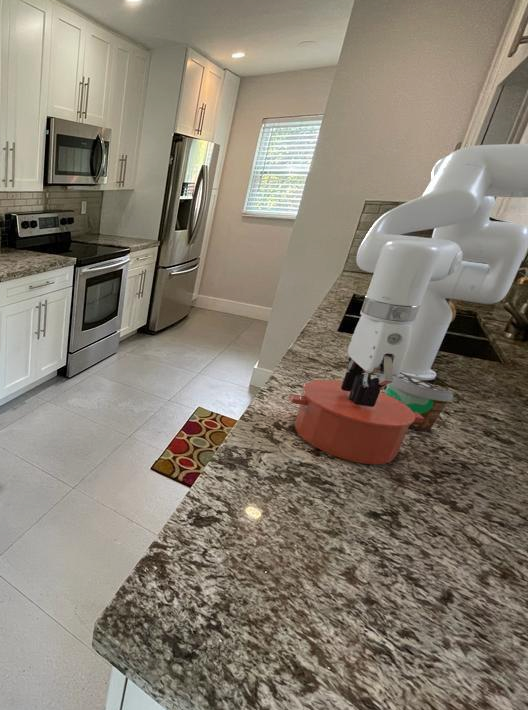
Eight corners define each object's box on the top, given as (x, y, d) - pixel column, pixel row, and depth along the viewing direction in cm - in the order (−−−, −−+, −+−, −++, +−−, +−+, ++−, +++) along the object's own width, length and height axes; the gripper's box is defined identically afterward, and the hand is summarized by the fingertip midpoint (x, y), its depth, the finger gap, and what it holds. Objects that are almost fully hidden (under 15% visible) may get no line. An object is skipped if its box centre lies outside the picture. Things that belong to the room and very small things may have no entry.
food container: (359, 405, 97) (373, 367, 94) (383, 404, 98) (398, 366, 94) (410, 435, 86) (428, 393, 82) (436, 434, 86) (456, 392, 83)
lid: (290, 379, 92) (297, 354, 90) (384, 392, 87) (394, 366, 85) (318, 419, 76) (328, 390, 74) (435, 438, 71) (449, 408, 69)
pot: (271, 408, 95) (280, 376, 92) (385, 426, 89) (399, 392, 86) (293, 451, 80) (305, 413, 77) (431, 475, 74) (450, 436, 71)
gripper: (443, 327, 66) (402, 424, 72) (389, 300, 81) (359, 382, 88) (387, 322, 68) (352, 416, 74) (344, 296, 83) (319, 376, 90)
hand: (356, 396), depth 81 cm, fingers open, 5 cm apart
